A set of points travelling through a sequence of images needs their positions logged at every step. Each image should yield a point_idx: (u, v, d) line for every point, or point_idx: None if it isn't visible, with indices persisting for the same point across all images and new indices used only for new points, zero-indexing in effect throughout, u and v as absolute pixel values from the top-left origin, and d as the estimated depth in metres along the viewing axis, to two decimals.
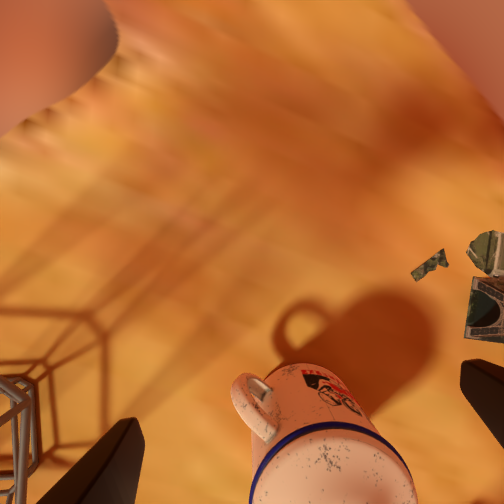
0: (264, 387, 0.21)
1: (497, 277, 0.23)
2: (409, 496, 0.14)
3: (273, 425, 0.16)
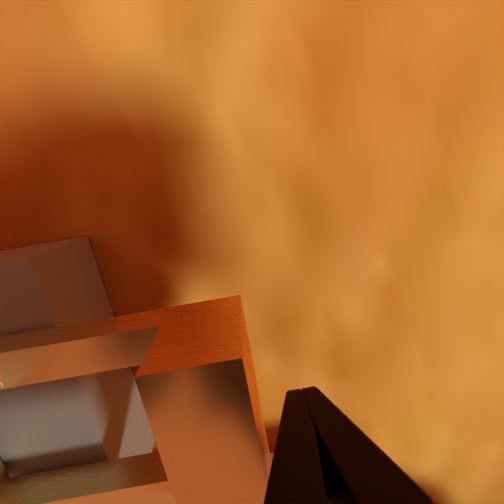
0: None
1: None
2: None
3: None
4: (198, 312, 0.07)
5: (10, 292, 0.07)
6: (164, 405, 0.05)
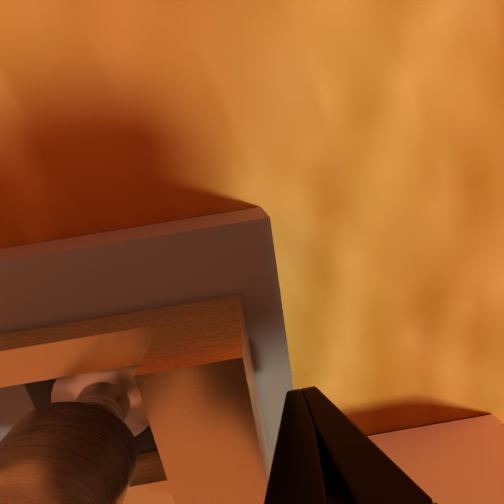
0: None
1: None
2: None
3: None
4: (199, 312, 0.07)
5: (245, 252, 0.08)
6: (164, 404, 0.05)
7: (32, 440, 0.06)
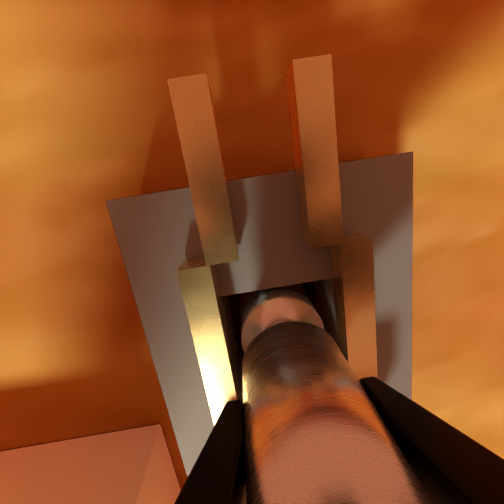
0: None
1: None
2: None
3: None
4: None
5: None
6: None
7: None
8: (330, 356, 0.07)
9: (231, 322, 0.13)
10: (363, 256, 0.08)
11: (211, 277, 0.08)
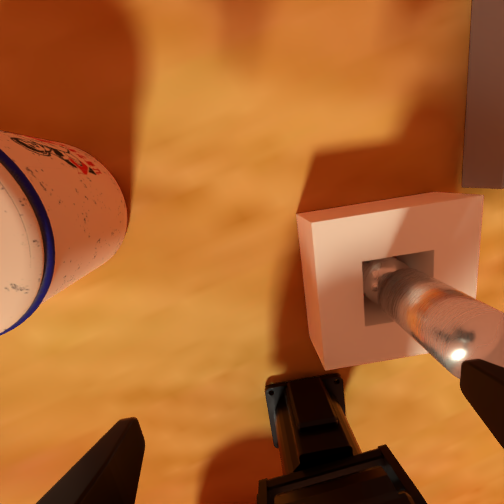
0: None
1: None
2: None
3: None
4: None
5: None
6: None
7: None
8: None
9: None
10: None
11: None
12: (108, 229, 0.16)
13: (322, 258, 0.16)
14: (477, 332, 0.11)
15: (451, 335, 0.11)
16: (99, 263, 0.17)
